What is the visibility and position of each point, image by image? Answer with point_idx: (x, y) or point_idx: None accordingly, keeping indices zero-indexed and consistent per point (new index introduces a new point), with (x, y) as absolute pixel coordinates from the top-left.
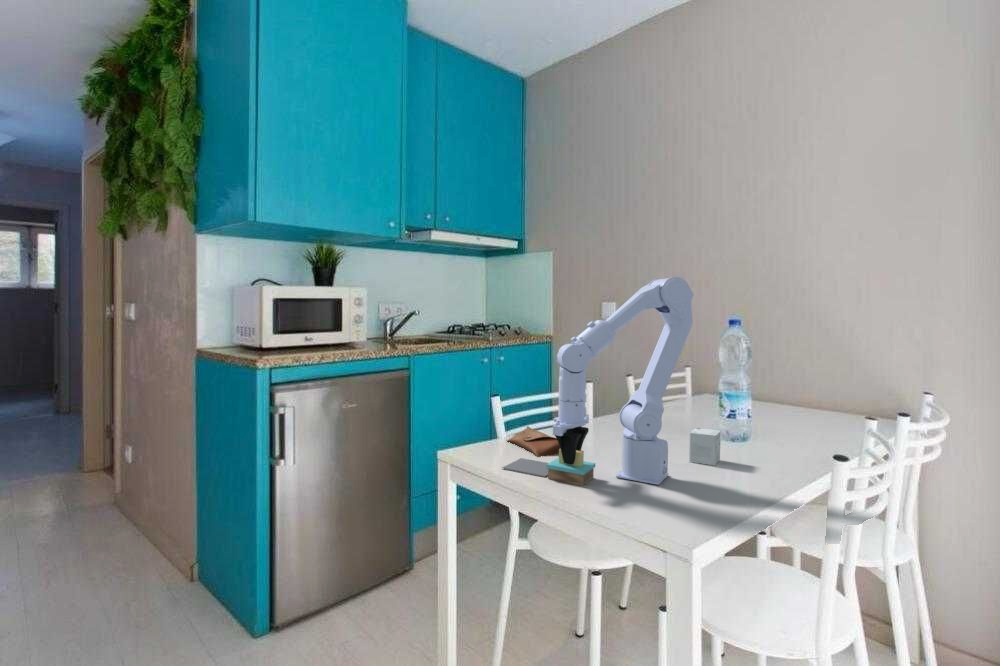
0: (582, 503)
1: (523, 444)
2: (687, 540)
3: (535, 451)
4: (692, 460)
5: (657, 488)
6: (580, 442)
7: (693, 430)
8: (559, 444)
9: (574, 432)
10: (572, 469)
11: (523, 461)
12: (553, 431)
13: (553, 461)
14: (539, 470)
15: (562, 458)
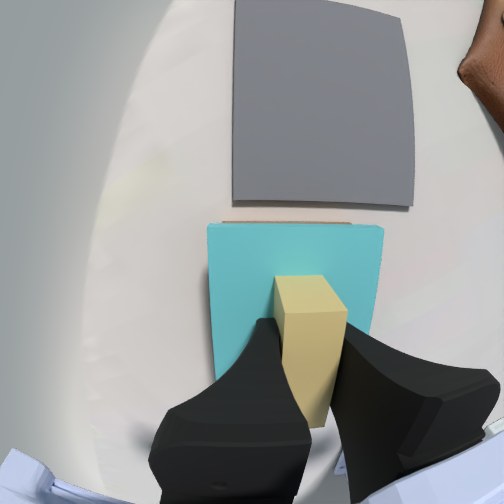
0: (101, 395)
1: (489, 14)
2: (117, 498)
3: (474, 58)
4: (485, 432)
5: (315, 473)
6: (343, 447)
7: None
8: (225, 374)
9: (375, 470)
10: (215, 368)
11: (369, 33)
12: (2, 470)
13: (286, 236)
14: (297, 138)
15: (277, 310)
